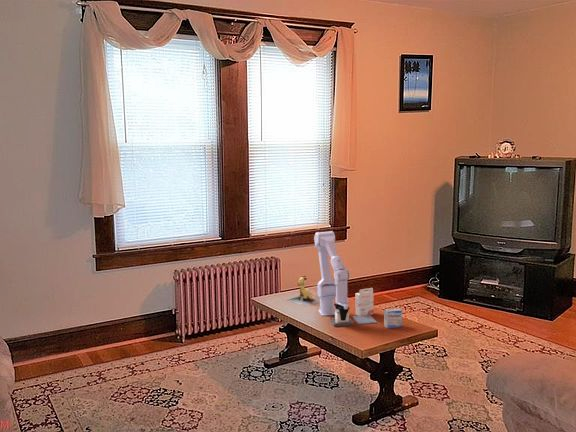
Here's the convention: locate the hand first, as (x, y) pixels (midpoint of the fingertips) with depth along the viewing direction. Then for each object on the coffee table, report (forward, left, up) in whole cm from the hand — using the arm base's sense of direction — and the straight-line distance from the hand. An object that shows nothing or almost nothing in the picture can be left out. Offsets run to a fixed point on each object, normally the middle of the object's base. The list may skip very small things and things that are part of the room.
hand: (341, 318), depth 286 cm
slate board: (-2, +12, -2) cm, 13 cm away
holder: (0, 0, -2) cm, 2 cm away
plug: (0, 0, -2) cm, 2 cm away
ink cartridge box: (-11, +15, -3) cm, 19 cm away
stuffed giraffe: (-43, -9, -3) cm, 44 cm away
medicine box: (+10, +23, -3) cm, 26 cm away
